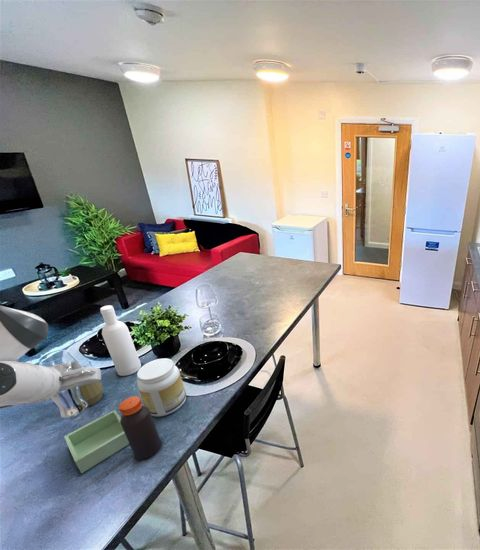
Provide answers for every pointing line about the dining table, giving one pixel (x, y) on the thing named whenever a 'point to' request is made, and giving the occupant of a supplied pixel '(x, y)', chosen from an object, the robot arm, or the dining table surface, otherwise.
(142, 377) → the supplement tub
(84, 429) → the tote
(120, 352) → the bottle
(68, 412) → the beer glass
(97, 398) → the squeeze bottle
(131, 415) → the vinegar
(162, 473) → the dining table surface
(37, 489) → the dining table surface
